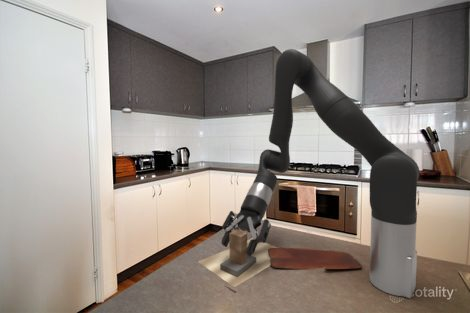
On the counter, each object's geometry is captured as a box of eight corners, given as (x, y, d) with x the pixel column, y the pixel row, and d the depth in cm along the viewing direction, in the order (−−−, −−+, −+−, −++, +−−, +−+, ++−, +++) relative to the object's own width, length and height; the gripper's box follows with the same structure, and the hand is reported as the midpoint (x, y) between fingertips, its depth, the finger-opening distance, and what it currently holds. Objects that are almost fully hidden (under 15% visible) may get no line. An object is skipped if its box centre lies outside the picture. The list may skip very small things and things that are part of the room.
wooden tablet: (272, 271, 62) (272, 265, 62) (266, 250, 72) (266, 246, 72) (366, 272, 63) (367, 267, 63) (347, 252, 73) (348, 247, 73)
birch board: (290, 257, 71) (290, 253, 71) (234, 293, 55) (234, 287, 55) (253, 241, 83) (253, 237, 83) (198, 266, 67) (197, 261, 67)
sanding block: (256, 262, 66) (255, 230, 65) (237, 277, 59) (237, 241, 58) (239, 256, 70) (239, 226, 69) (220, 269, 63) (219, 236, 62)
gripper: (234, 190, 73) (210, 237, 65) (273, 197, 65) (251, 251, 56) (243, 203, 78) (222, 248, 69) (281, 210, 69) (262, 263, 61)
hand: (235, 249), depth 63 cm, fingers open, 8 cm apart
